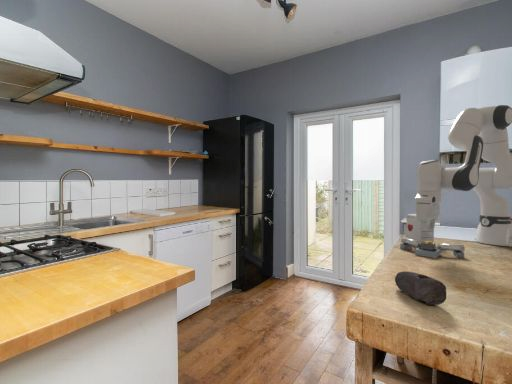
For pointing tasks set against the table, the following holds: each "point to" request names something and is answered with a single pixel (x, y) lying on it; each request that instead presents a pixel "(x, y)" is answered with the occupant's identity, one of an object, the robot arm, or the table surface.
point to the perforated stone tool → (421, 287)
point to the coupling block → (428, 246)
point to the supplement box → (418, 230)
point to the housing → (427, 253)
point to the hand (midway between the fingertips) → (428, 229)
